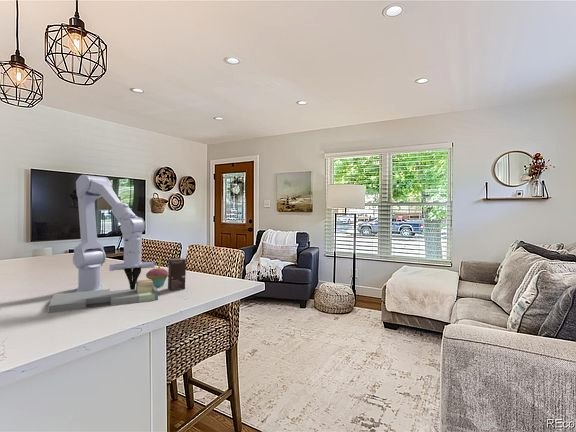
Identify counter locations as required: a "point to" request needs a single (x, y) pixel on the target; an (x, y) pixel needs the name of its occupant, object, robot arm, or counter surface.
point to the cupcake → (157, 275)
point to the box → (176, 273)
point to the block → (144, 285)
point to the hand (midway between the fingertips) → (132, 289)
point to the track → (98, 299)
